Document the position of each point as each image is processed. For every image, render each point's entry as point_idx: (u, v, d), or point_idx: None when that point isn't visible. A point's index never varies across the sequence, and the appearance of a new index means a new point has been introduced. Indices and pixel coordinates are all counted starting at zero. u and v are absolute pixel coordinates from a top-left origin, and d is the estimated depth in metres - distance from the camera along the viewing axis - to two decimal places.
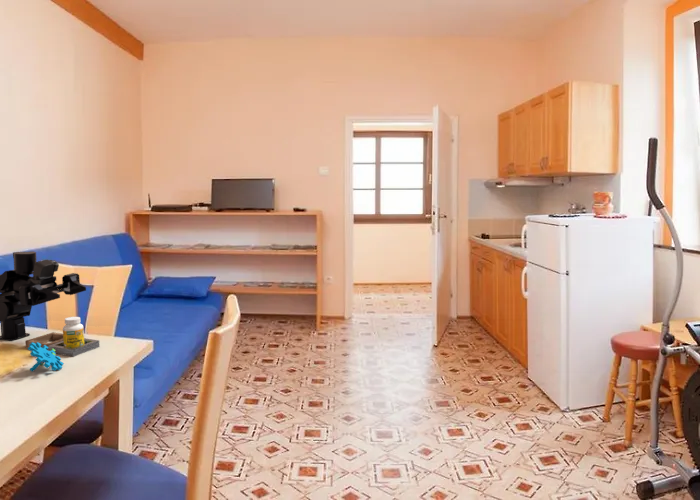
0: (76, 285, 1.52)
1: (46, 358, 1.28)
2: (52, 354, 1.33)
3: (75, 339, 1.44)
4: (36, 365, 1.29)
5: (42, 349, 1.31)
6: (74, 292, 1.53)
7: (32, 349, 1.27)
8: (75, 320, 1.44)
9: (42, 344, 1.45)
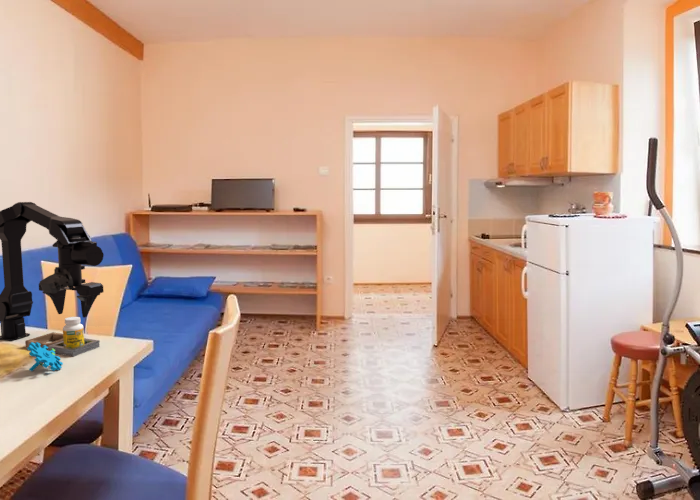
0: None
1: (45, 358, 1.28)
2: (52, 354, 1.33)
3: (75, 339, 1.44)
4: (35, 365, 1.29)
5: (41, 349, 1.31)
6: None
7: (31, 349, 1.27)
8: (75, 320, 1.44)
9: (42, 344, 1.45)
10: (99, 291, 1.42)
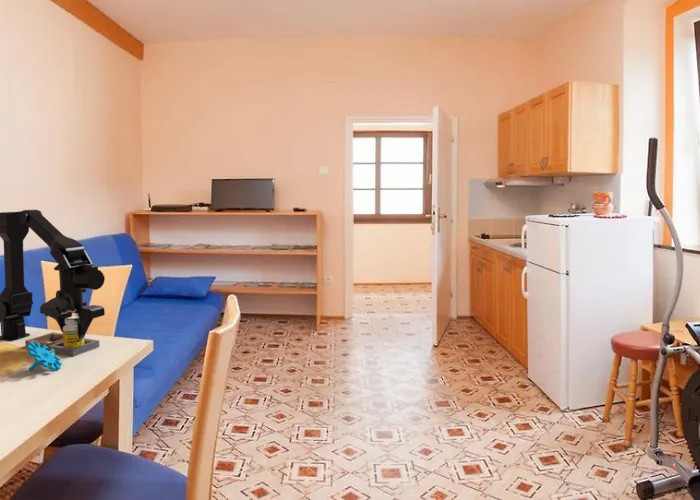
0: None
1: (44, 358, 1.28)
2: (51, 354, 1.33)
3: (75, 339, 1.44)
4: (35, 365, 1.29)
5: (41, 349, 1.31)
6: None
7: (30, 349, 1.27)
8: None
9: (42, 344, 1.45)
10: (100, 314, 1.43)
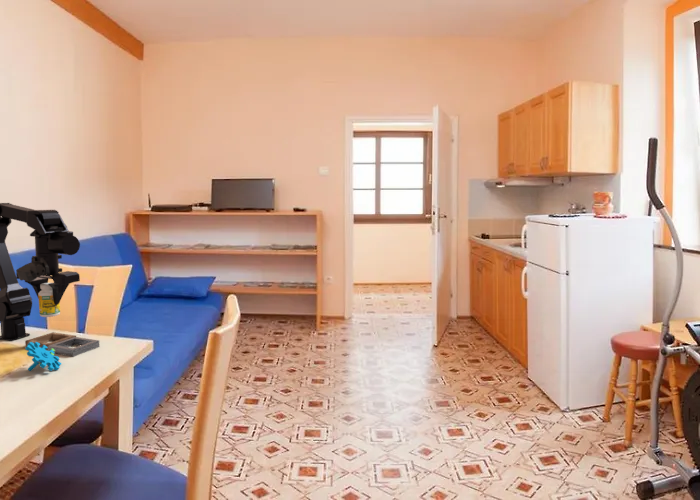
0: None
1: (43, 358, 1.28)
2: (50, 354, 1.33)
3: (50, 304, 1.47)
4: (34, 365, 1.29)
5: (40, 349, 1.31)
6: None
7: (29, 349, 1.27)
8: None
9: (42, 344, 1.45)
10: (75, 280, 1.46)
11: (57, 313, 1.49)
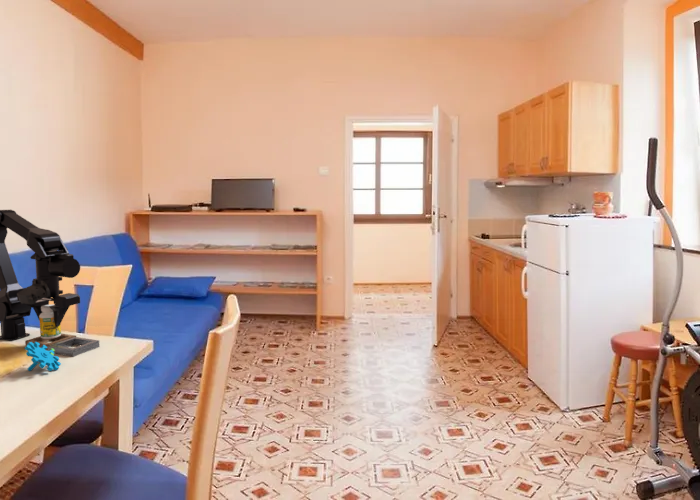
0: None
1: (42, 358, 1.28)
2: (50, 354, 1.33)
3: (51, 326, 1.48)
4: (33, 365, 1.29)
5: (40, 349, 1.31)
6: None
7: (29, 349, 1.27)
8: None
9: (42, 344, 1.45)
10: (76, 302, 1.47)
11: (58, 335, 1.50)
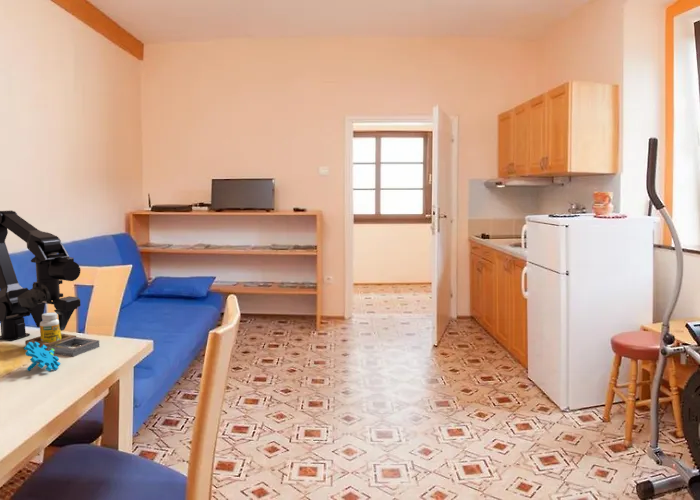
0: None
1: (42, 358, 1.28)
2: (50, 354, 1.33)
3: (51, 335, 1.48)
4: (33, 365, 1.29)
5: (39, 349, 1.31)
6: None
7: (28, 349, 1.27)
8: (52, 316, 1.48)
9: (42, 344, 1.45)
10: (76, 305, 1.47)
11: None
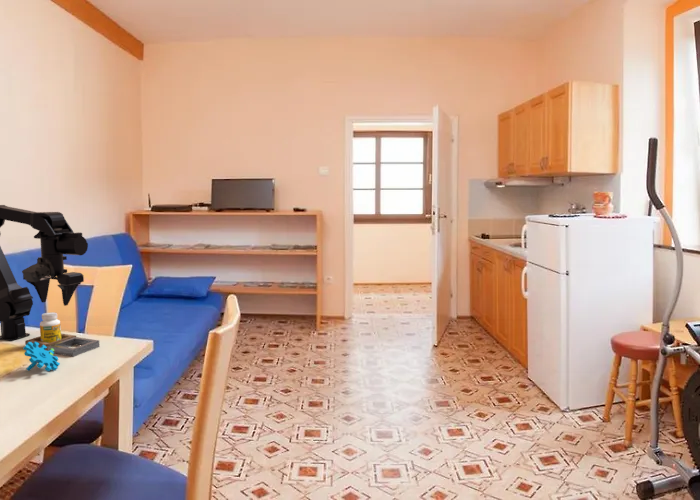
0: None
1: (41, 358, 1.28)
2: (49, 354, 1.33)
3: (51, 335, 1.48)
4: (32, 365, 1.29)
5: (39, 349, 1.31)
6: None
7: (27, 349, 1.27)
8: (52, 316, 1.48)
9: (42, 344, 1.45)
10: (79, 280, 1.49)
11: None
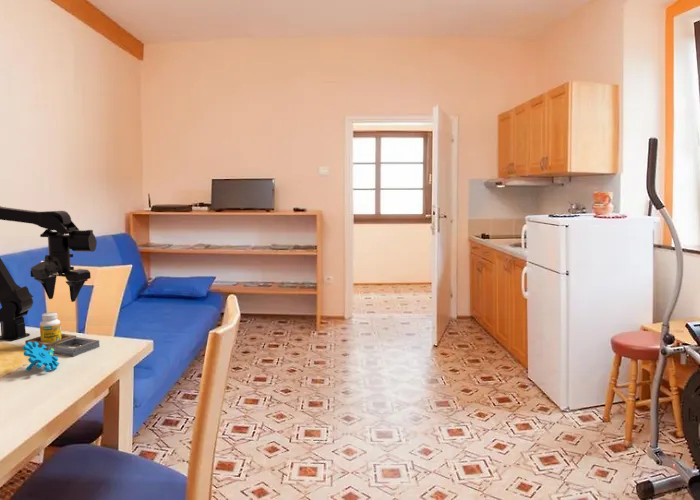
0: None
1: (40, 358, 1.28)
2: (49, 354, 1.33)
3: (51, 335, 1.48)
4: (31, 364, 1.29)
5: (38, 349, 1.31)
6: None
7: (26, 349, 1.27)
8: (52, 316, 1.48)
9: (42, 344, 1.45)
10: (86, 277, 1.54)
11: None
